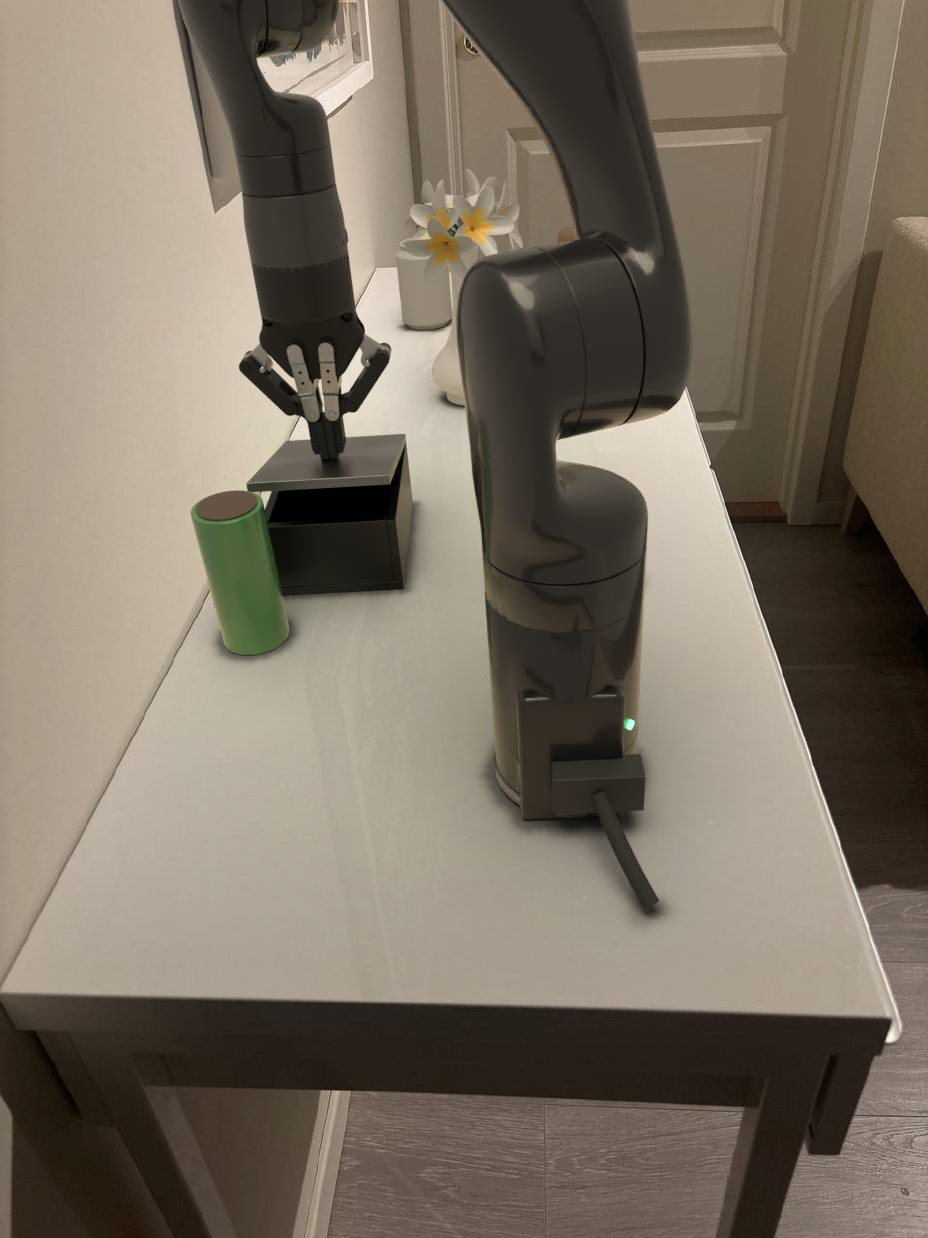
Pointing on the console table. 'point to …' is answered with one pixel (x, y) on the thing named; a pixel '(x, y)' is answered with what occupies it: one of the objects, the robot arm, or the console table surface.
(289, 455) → the lid
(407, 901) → the console table surface
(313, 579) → the dark grey open box
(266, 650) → the green cylinder
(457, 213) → the flower vase
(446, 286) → the can
